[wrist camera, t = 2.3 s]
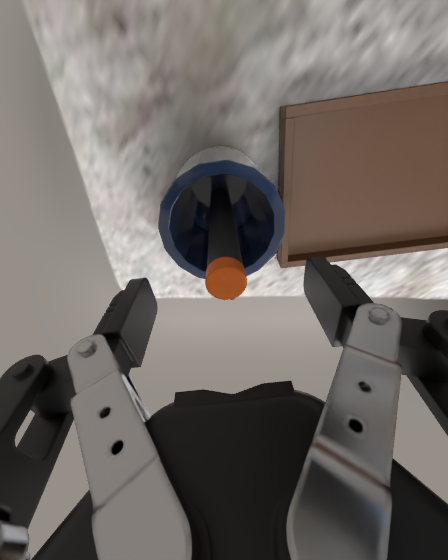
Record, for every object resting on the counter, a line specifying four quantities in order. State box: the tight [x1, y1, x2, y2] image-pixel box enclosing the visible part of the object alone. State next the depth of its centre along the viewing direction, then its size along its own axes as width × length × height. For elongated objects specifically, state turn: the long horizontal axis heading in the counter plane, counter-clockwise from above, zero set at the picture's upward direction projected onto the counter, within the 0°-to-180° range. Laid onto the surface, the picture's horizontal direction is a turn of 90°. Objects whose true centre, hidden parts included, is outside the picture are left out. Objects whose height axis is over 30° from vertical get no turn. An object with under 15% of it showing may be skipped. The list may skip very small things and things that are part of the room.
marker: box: [205, 188, 247, 300], centre depth 17 cm, size 2×2×15 cm
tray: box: [277, 82, 448, 268], centre depth 23 cm, size 16×22×2 cm
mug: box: [158, 146, 285, 300], centre depth 21 cm, size 13×9×9 cm
